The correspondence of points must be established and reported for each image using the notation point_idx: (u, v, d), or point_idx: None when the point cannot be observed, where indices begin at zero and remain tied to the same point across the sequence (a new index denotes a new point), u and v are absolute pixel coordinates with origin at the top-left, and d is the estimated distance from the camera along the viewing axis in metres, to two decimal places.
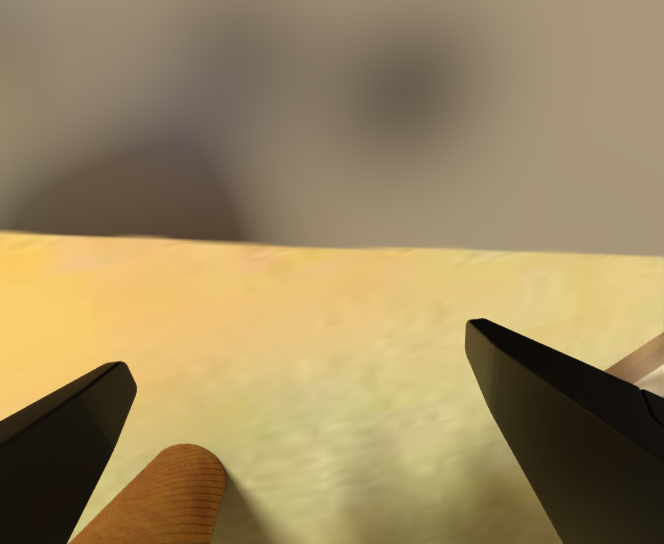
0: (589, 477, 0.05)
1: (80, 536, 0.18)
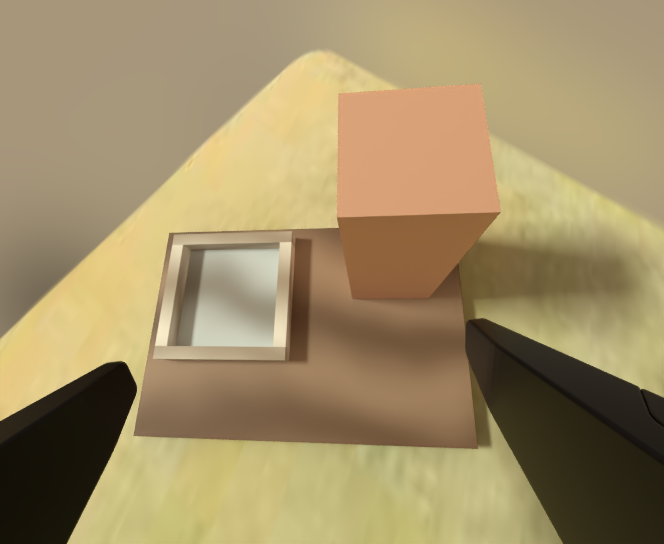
0: (589, 477, 0.05)
1: None
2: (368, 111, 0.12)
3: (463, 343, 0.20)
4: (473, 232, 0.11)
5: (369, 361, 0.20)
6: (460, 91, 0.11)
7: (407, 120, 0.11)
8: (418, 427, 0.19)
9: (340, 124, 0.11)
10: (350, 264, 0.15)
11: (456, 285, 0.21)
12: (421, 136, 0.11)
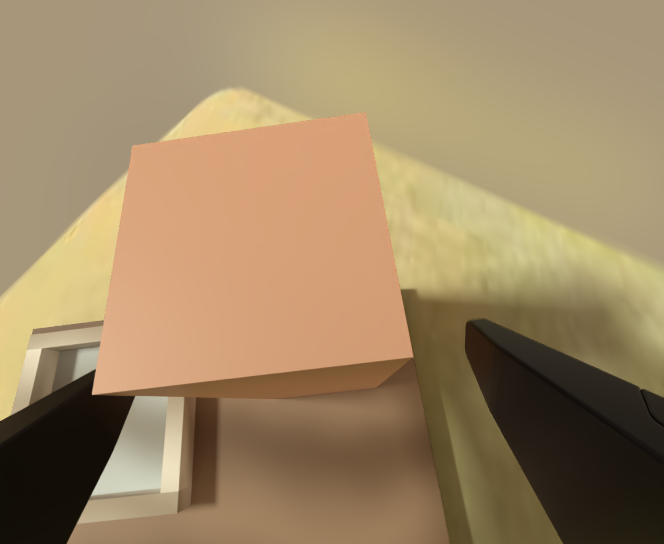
0: (589, 477, 0.05)
1: None
2: (178, 172, 0.07)
3: (427, 449, 0.15)
4: (382, 368, 0.06)
5: (302, 492, 0.15)
6: (332, 128, 0.07)
7: (243, 183, 0.06)
8: None
9: (127, 199, 0.06)
10: (223, 397, 0.09)
11: (410, 365, 0.16)
12: (266, 210, 0.06)
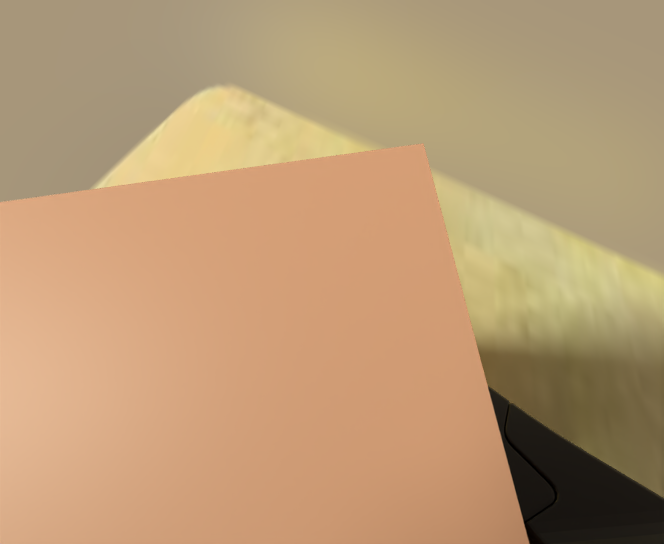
0: None
1: None
2: (34, 271, 0.03)
3: None
4: None
5: None
6: (357, 177, 0.03)
7: (164, 304, 0.03)
8: None
9: None
10: None
11: None
12: (209, 379, 0.03)
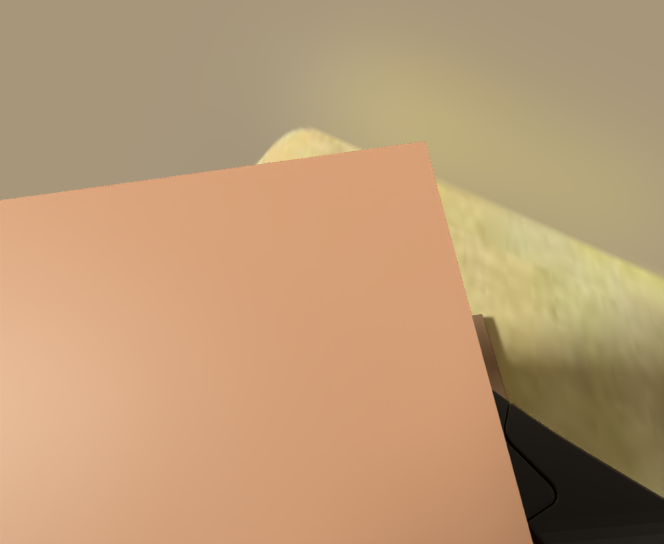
0: None
1: None
2: (38, 268, 0.03)
3: None
4: None
5: None
6: (359, 173, 0.03)
7: (167, 300, 0.03)
8: None
9: None
10: None
11: (499, 387, 0.19)
12: (213, 374, 0.03)
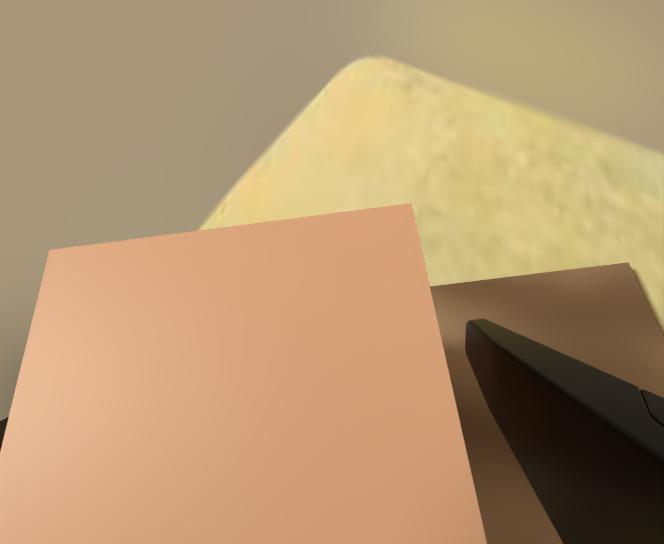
0: (589, 477, 0.05)
1: None
2: (115, 302, 0.04)
3: None
4: None
5: None
6: (360, 229, 0.04)
7: (216, 328, 0.04)
8: None
9: (31, 350, 0.04)
10: None
11: None
12: (252, 384, 0.04)
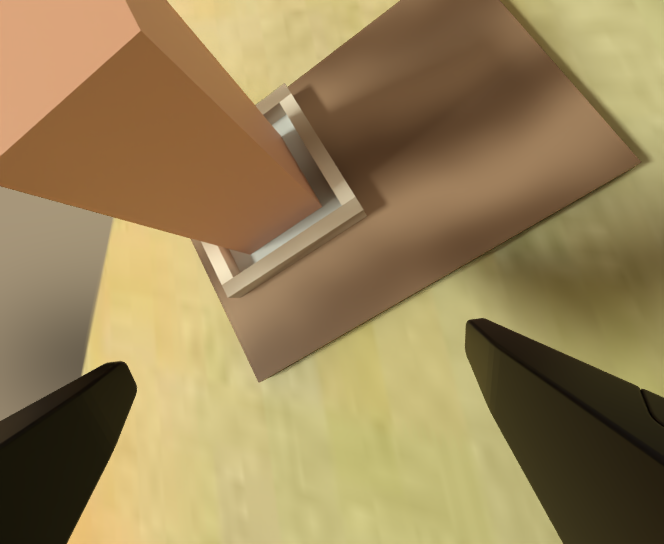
0: (589, 477, 0.05)
1: None
2: None
3: (553, 67, 0.15)
4: (179, 89, 0.08)
5: (455, 158, 0.16)
6: None
7: None
8: (555, 186, 0.15)
9: None
10: (152, 223, 0.12)
11: (504, 15, 0.16)
12: (22, 2, 0.07)
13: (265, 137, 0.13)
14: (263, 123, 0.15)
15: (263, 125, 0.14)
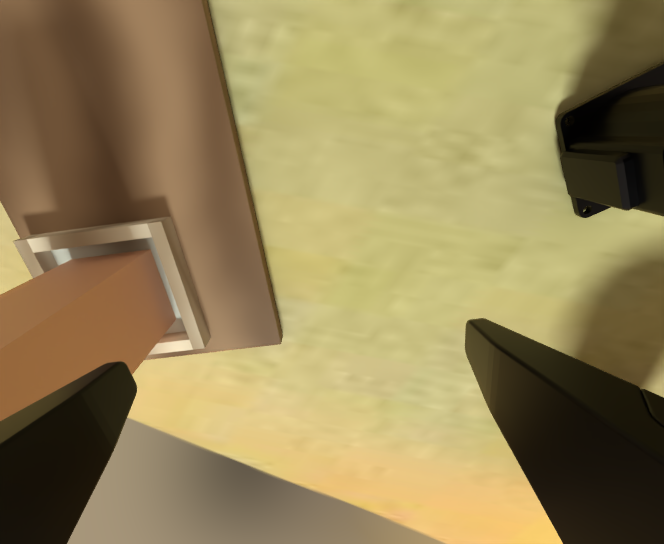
0: (589, 477, 0.05)
1: None
2: None
3: None
4: None
5: (138, 120, 0.17)
6: None
7: None
8: (191, 46, 0.16)
9: None
10: None
11: None
12: None
13: (60, 291, 0.15)
14: (48, 281, 0.16)
15: (50, 283, 0.16)
